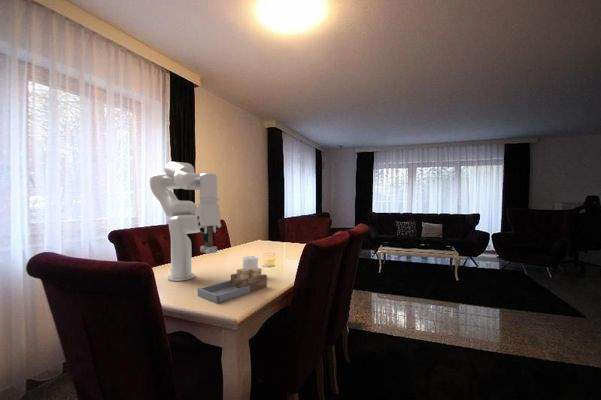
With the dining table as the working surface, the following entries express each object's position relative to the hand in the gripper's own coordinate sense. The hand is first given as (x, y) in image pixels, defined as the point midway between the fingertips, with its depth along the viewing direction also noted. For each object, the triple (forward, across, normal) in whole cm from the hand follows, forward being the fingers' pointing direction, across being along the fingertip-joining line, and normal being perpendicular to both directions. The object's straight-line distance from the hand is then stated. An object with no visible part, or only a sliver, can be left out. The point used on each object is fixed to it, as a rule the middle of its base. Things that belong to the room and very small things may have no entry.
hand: (208, 241), depth 128 cm
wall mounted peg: (+5, 0, 0) cm, 5 cm away
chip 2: (+17, -14, +15) cm, 27 cm away
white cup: (+21, -23, +1) cm, 31 cm away
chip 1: (+17, -10, +12) cm, 23 cm away
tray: (+21, +1, +13) cm, 25 cm away
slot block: (+21, -12, +13) cm, 27 cm away
